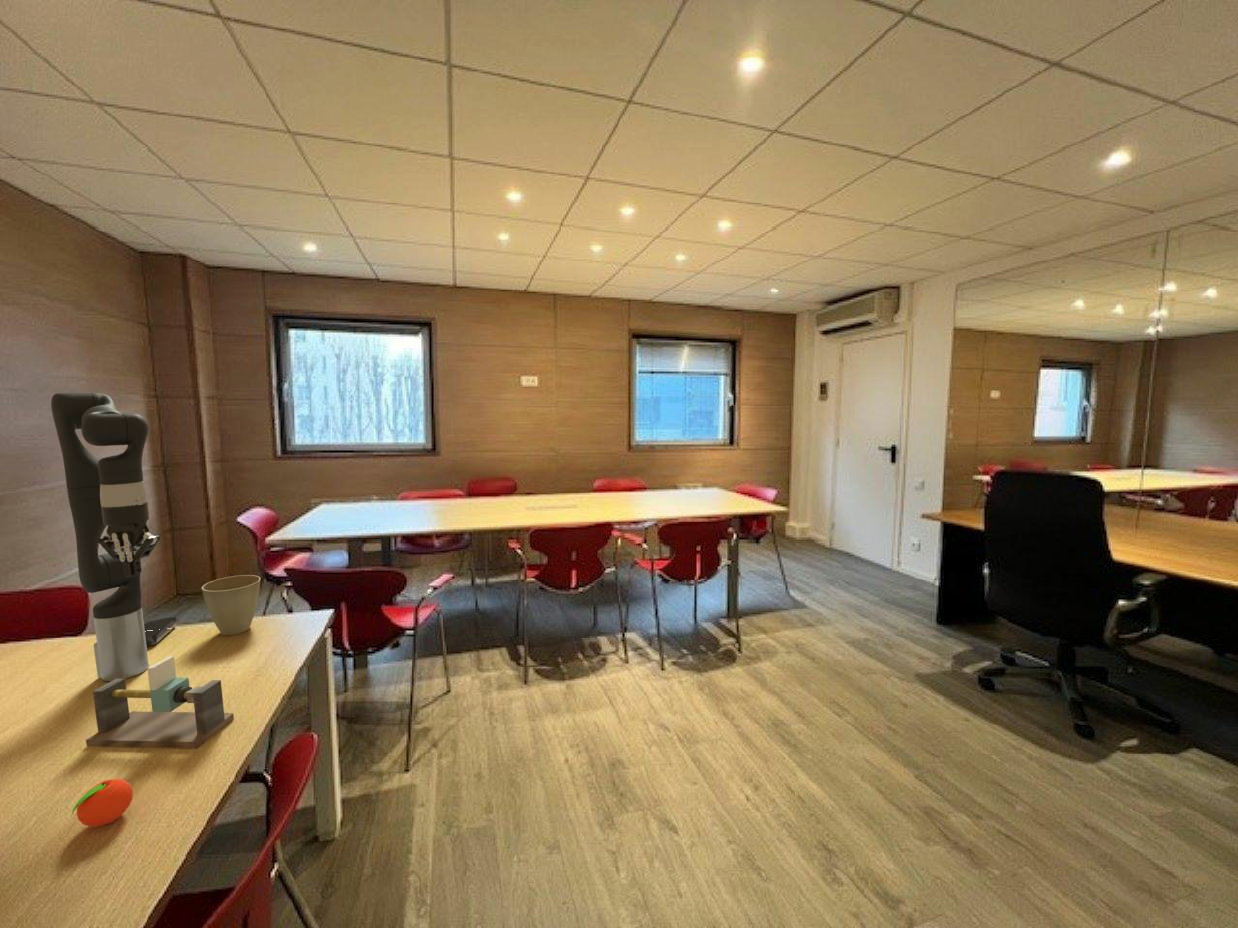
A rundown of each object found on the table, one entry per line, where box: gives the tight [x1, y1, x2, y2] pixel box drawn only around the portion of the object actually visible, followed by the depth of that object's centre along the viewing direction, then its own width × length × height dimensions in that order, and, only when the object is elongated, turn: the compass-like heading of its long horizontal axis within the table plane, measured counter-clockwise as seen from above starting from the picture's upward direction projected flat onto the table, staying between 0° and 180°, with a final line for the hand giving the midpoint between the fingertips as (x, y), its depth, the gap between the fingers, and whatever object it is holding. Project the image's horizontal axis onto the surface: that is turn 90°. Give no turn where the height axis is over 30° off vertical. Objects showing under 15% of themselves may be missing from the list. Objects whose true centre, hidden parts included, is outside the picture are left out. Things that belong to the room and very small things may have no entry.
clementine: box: [70, 778, 134, 828], centre depth 88 cm, size 8×7×7 cm
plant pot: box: [201, 574, 261, 636], centre depth 162 cm, size 15×15×16 cm
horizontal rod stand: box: [85, 679, 235, 749], centre depth 112 cm, size 24×10×11 cm, turn 89°
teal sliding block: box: [146, 655, 190, 712], centre depth 111 cm, size 4×5×10 cm
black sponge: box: [144, 616, 178, 647], centre depth 157 cm, size 16×8×4 cm, turn 20°
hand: (133, 576), depth 117 cm, fingers closed
